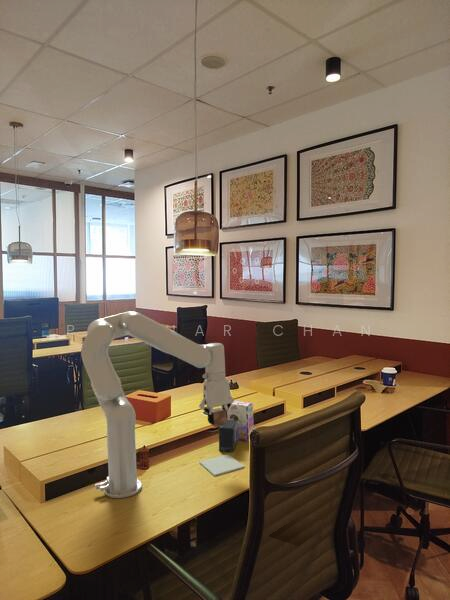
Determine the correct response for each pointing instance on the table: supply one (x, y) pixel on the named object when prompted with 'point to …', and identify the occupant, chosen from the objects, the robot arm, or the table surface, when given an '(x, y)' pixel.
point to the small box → (228, 436)
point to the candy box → (242, 418)
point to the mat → (221, 465)
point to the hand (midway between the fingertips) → (217, 421)
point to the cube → (219, 417)
